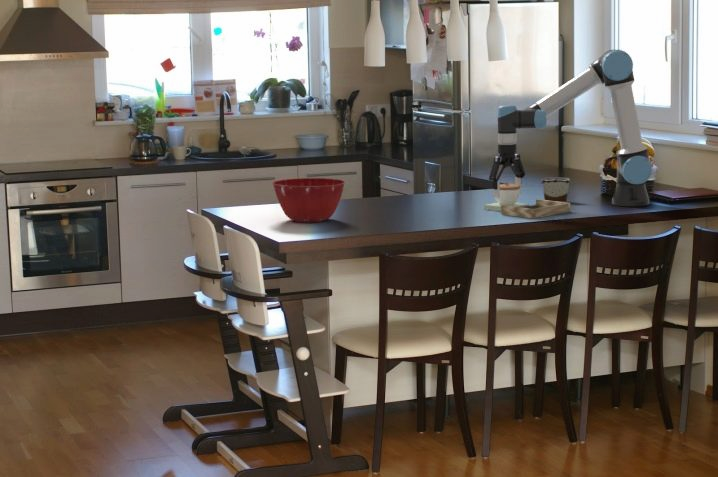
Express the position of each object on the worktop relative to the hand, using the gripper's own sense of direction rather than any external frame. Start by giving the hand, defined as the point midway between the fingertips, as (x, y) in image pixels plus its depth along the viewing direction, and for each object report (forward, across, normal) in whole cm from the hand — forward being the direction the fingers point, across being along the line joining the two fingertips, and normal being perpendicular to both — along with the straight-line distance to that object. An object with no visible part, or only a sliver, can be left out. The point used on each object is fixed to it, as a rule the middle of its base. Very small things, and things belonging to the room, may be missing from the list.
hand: (507, 195), depth 474 cm
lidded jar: (+4, 0, 0) cm, 4 cm away
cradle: (+6, 0, +15) cm, 16 cm away
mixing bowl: (+5, +72, -40) cm, 83 cm away
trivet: (+6, 0, 0) cm, 6 cm away
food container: (+6, -31, +1) cm, 31 cm away
